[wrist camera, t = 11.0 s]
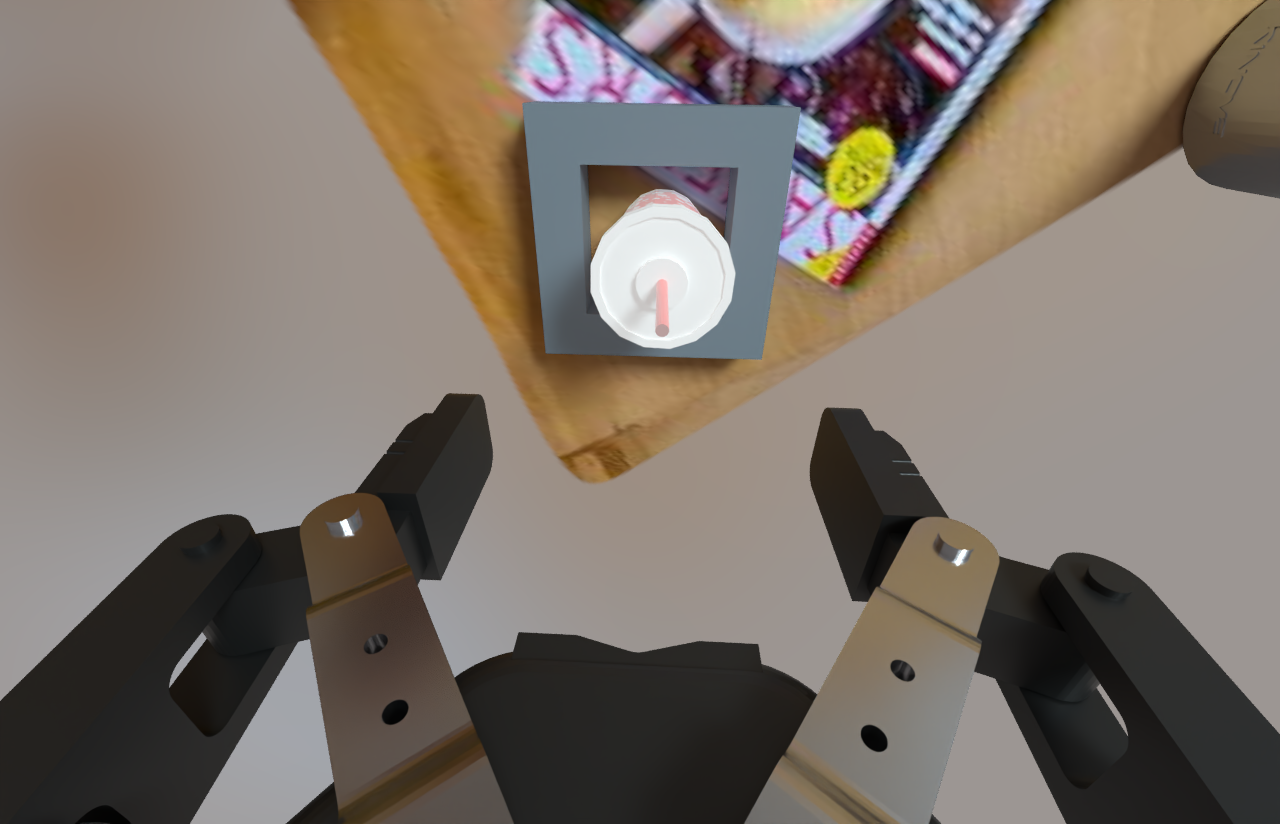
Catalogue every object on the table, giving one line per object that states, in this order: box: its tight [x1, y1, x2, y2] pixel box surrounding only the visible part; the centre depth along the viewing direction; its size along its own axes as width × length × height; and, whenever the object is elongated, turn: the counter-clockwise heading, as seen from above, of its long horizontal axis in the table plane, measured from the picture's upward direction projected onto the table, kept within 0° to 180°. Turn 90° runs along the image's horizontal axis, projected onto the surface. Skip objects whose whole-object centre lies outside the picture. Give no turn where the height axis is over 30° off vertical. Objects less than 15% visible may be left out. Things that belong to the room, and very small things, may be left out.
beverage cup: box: [591, 189, 736, 349], centre depth 23 cm, size 6×6×14 cm
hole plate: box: [522, 101, 801, 360], centre depth 28 cm, size 13×13×3 cm
